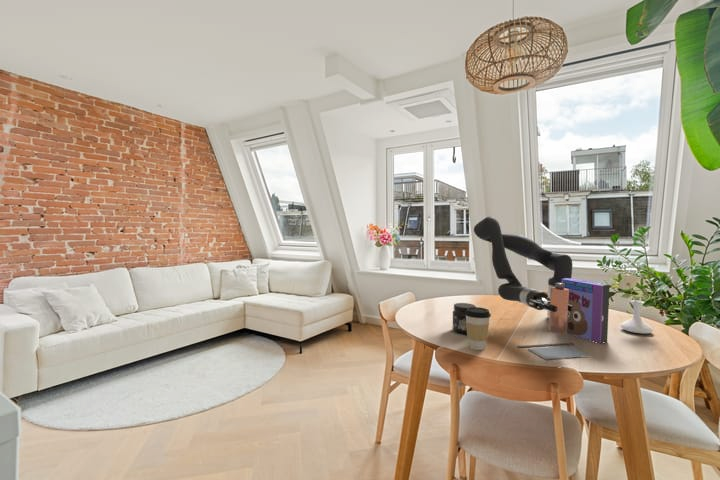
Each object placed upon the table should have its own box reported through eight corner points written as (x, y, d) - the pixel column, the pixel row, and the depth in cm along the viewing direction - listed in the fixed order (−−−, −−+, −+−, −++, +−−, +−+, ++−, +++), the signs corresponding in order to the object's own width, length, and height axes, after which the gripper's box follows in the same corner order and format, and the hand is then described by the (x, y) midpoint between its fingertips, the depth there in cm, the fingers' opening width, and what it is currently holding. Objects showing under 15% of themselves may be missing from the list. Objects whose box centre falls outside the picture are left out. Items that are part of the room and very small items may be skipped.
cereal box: (560, 331, 157) (561, 278, 155) (567, 330, 159) (568, 277, 157) (599, 343, 141) (601, 285, 139) (607, 342, 143) (609, 284, 141)
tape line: (571, 343, 142) (571, 342, 142) (573, 344, 140) (573, 343, 140) (517, 346, 138) (517, 346, 138) (519, 348, 136) (519, 347, 136)
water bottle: (559, 328, 134) (561, 281, 133) (570, 333, 128) (573, 284, 127) (545, 328, 133) (547, 282, 132) (556, 333, 127) (558, 285, 126)
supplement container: (457, 326, 164) (457, 301, 163) (479, 330, 158) (480, 304, 157) (448, 332, 156) (449, 306, 155) (472, 337, 150) (472, 309, 149)
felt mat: (569, 346, 137) (569, 346, 137) (589, 356, 128) (589, 355, 128) (527, 349, 134) (527, 348, 134) (545, 360, 125) (545, 359, 125)
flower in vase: (647, 329, 159) (650, 275, 157) (656, 337, 148) (659, 279, 147) (613, 326, 164) (615, 273, 163) (619, 333, 154) (621, 277, 152)
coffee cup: (489, 344, 140) (490, 307, 140) (490, 353, 131) (491, 314, 130) (464, 341, 144) (465, 305, 143) (463, 350, 134) (463, 311, 134)
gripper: (518, 290, 143) (546, 299, 126) (549, 289, 145) (581, 298, 129) (517, 308, 143) (545, 319, 127) (548, 306, 146) (580, 318, 129)
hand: (563, 309), depth 128 cm, fingers closed on water bottle, 6 cm apart
